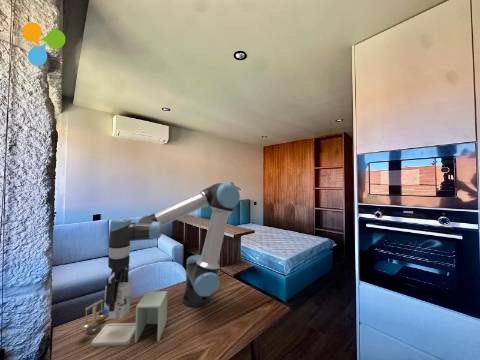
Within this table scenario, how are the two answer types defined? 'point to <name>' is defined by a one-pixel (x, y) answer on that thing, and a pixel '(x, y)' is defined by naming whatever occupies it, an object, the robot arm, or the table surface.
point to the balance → (93, 319)
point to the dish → (115, 335)
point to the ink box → (120, 300)
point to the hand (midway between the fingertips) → (116, 312)
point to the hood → (151, 312)
